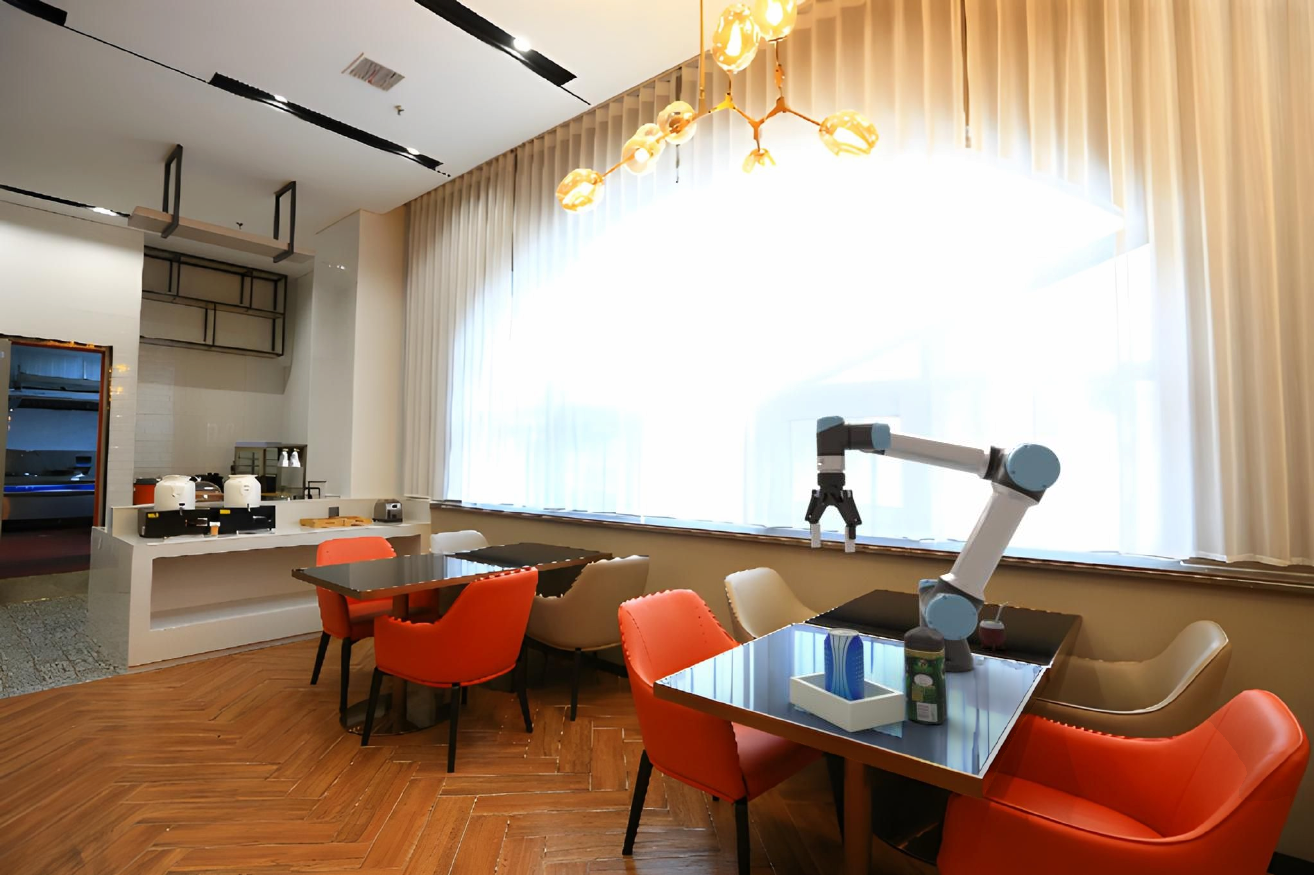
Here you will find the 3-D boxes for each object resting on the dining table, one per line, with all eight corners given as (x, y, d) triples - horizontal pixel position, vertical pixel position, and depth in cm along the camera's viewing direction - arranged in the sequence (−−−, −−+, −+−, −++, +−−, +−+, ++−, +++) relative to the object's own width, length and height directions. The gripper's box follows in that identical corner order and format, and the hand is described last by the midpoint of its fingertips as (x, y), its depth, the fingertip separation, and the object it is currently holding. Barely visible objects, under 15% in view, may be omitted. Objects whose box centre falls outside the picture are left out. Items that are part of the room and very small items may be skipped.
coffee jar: (910, 707, 141) (908, 622, 142) (949, 714, 137) (946, 626, 138) (902, 721, 133) (900, 631, 134) (943, 728, 128) (940, 636, 130)
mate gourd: (978, 644, 196) (976, 595, 197) (1006, 646, 193) (1005, 597, 194) (981, 650, 189) (980, 599, 190) (1011, 653, 186) (1009, 601, 187)
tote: (840, 692, 150) (840, 669, 151) (904, 720, 133) (904, 693, 133) (789, 702, 144) (789, 677, 144) (850, 732, 126) (849, 704, 127)
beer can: (859, 715, 133) (858, 638, 134) (820, 708, 137) (819, 633, 138) (868, 703, 140) (867, 630, 141) (830, 697, 144) (829, 625, 146)
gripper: (791, 472, 184) (792, 545, 182) (853, 471, 161) (854, 554, 160) (812, 472, 187) (813, 544, 186) (875, 471, 165) (876, 553, 163)
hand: (832, 549), depth 173 cm, fingers open, 13 cm apart
